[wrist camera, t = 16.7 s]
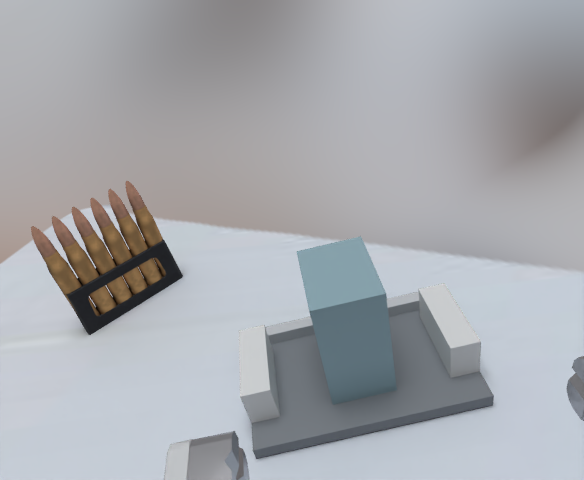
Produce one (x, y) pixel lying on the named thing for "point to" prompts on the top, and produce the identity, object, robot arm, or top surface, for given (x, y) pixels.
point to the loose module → (349, 319)
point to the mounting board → (370, 410)
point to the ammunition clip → (109, 261)
